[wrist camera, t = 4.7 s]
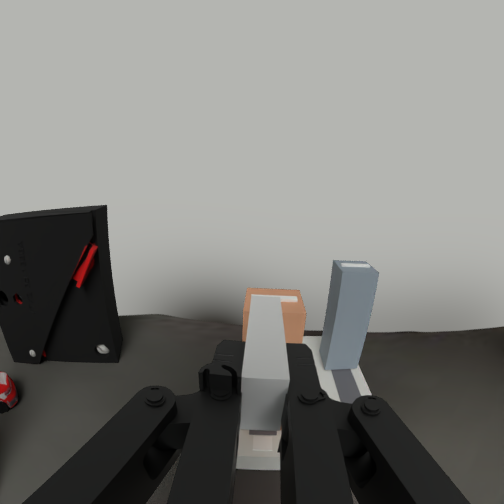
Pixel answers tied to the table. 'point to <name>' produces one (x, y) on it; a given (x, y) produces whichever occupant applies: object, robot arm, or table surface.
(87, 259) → the electrical component
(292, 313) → the terracotta switch
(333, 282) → the slate switch
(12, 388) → the race car
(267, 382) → the robot arm
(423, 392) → the table surface
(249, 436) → the switch plate
